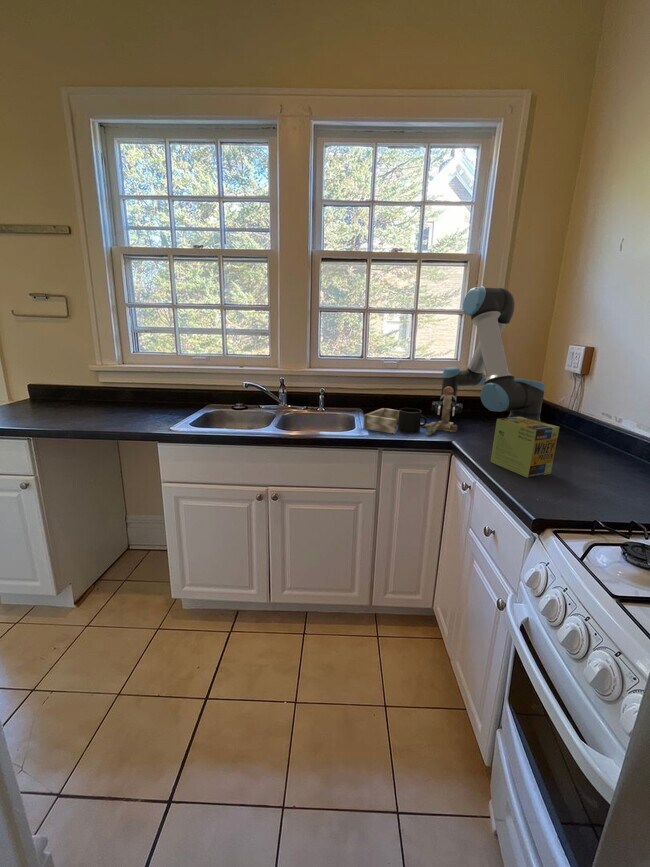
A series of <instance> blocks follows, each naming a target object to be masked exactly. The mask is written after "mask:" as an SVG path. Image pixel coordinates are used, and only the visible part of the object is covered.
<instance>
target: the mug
mask: <svg viewBox="0 0 650 867" xmlns="http://www.w3.org/2000/svg"><path fill="white" fill-rule="evenodd" d="M422 419H424V422H423V423H424V424H421V423H422ZM427 422H428V419H427V417H426V416H424V415H422V410H421V409H418V408H413V407H403V408H400V409H399V420H398V424H397V431H399V432H401V433H404V432H405V433H406V434H417V433H419V432H420V431H421V428H422V427H421V426H424V425H426V424H428V423H427ZM405 433H404V434H405Z"/></svg>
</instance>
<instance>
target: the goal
mask: <svg viewBox="0 0 650 867" xmlns="http://www.w3.org/2000/svg"><path fill="white" fill-rule="evenodd" d="M398 420H399V410H398V409H392V408H387V407H386V408H385V407H382V408H379V409H376V410H374V411H370V412H368V413H365V414H363V423H362V424H363V426H362V428H363V429H366V430H370V431H376V432H377V431H378V432H381V433H386V434H388V433H389V434H392V433H393V434H394V435H395V434H397V427H398V424H397V423H398Z"/></svg>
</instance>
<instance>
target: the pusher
mask: <svg viewBox="0 0 650 867" xmlns="http://www.w3.org/2000/svg"><path fill="white" fill-rule="evenodd" d="M453 392H454V390H453V388H452V387H450V386H447V387H445V388H444V390H443V393H444V401H443V410H441V420H439V421H432V422H429V423H427V424H428V425H427V428H426V432H425V433H426V435H427V436H431V435H433V434H435V433H436V431H438V430H437V429H438V428H446V429H451V427H452V426H453V425H454V422H452V421H450V416H451V411H450V408H451V399H452V394H453Z"/></svg>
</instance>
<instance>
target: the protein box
mask: <svg viewBox="0 0 650 867" xmlns="http://www.w3.org/2000/svg"><path fill="white" fill-rule="evenodd" d="M508 417H509V416H508ZM508 417H498V418H497V419H496V422H495V429H494V430H495V431H494V434H493V435H494V436H493V443H492V448H491V450H492V451H491V457H490V463H491V464H494V465H497V466H499V467H501V468H503V469H505V470H508V471H510V472H513V473H515V474H518V475H520V476H521V477H525V478H533V477H534V478H535V477H539V476H545V475H551V473H552V469H553V464H554V457H555V453H556V447H557V442H558V437H559V432H560V428H561V427H560V426H557V425H554V424H549V423H546V422H542V421H541V422H539V421H535V420H531V419H527V418H523V417H509V418H508Z"/></svg>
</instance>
